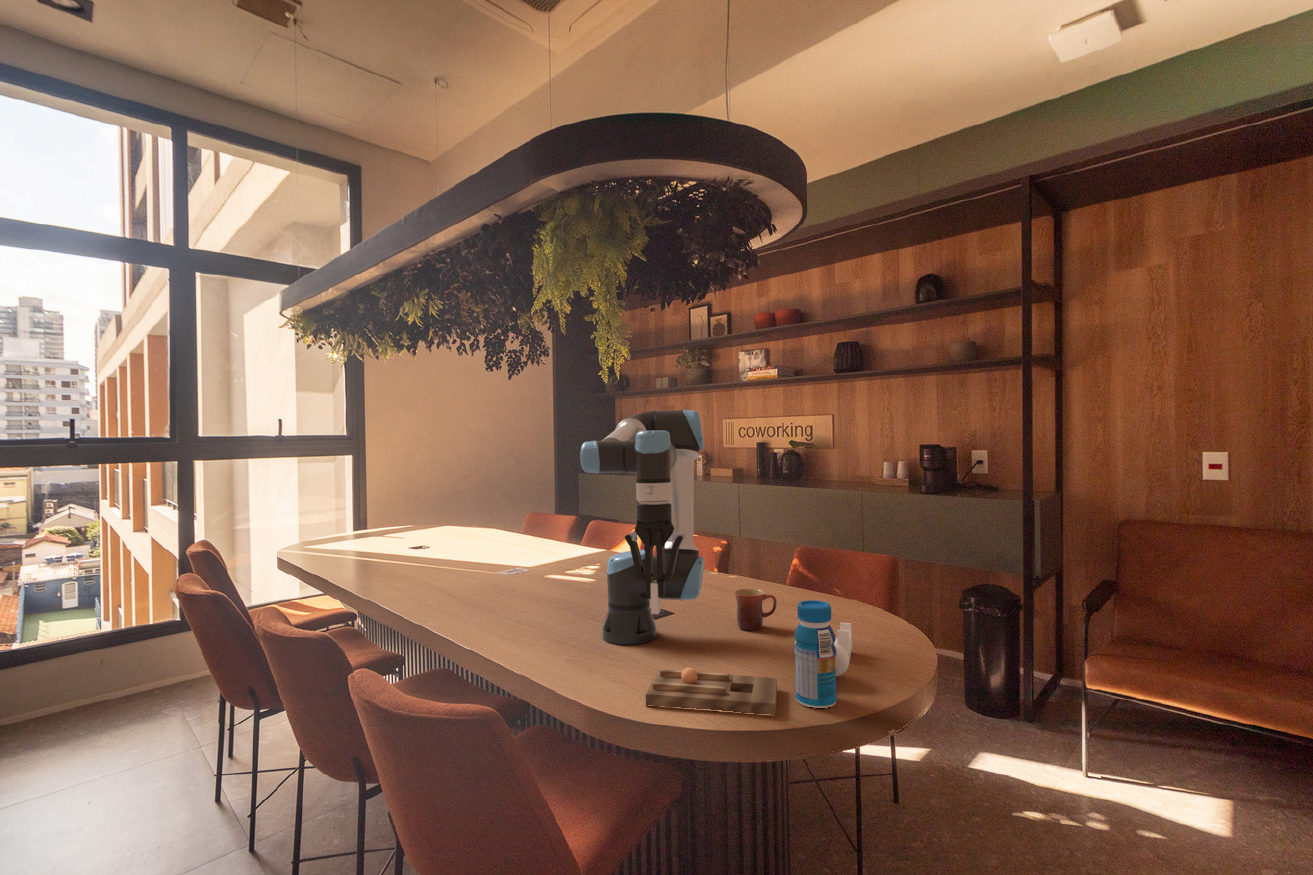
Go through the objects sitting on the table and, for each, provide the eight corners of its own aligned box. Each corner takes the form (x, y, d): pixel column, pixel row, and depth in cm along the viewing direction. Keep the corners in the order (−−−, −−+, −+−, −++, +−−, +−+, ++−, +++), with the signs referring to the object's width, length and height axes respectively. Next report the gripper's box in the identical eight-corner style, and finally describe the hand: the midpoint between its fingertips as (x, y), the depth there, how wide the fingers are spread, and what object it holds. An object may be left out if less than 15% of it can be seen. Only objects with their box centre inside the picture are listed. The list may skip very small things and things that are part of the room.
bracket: (851, 653, 152) (851, 623, 153) (849, 662, 146) (848, 631, 146) (799, 647, 158) (799, 618, 158) (794, 656, 151) (794, 626, 151)
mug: (735, 632, 170) (734, 595, 170) (734, 623, 178) (733, 588, 178) (778, 633, 169) (777, 596, 169) (775, 623, 177) (774, 588, 177)
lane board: (645, 706, 124) (645, 687, 124) (659, 681, 136) (659, 664, 136) (775, 716, 118) (775, 697, 118) (777, 689, 130) (776, 672, 131)
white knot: (847, 671, 140) (846, 632, 140) (852, 692, 128) (851, 650, 129) (797, 668, 143) (796, 630, 143) (797, 688, 131) (796, 647, 131)
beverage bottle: (792, 706, 122) (790, 607, 122) (798, 690, 130) (796, 597, 130) (835, 712, 119) (833, 611, 119) (839, 695, 127) (837, 600, 127)
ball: (680, 686, 127) (679, 670, 127) (683, 680, 130) (682, 664, 130) (696, 687, 126) (695, 671, 126) (698, 681, 129) (698, 665, 129)
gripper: (619, 503, 128) (621, 615, 127) (680, 504, 125) (682, 618, 124) (629, 500, 135) (631, 606, 135) (686, 500, 132) (688, 608, 132)
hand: (655, 612), depth 130 cm, fingers closed
